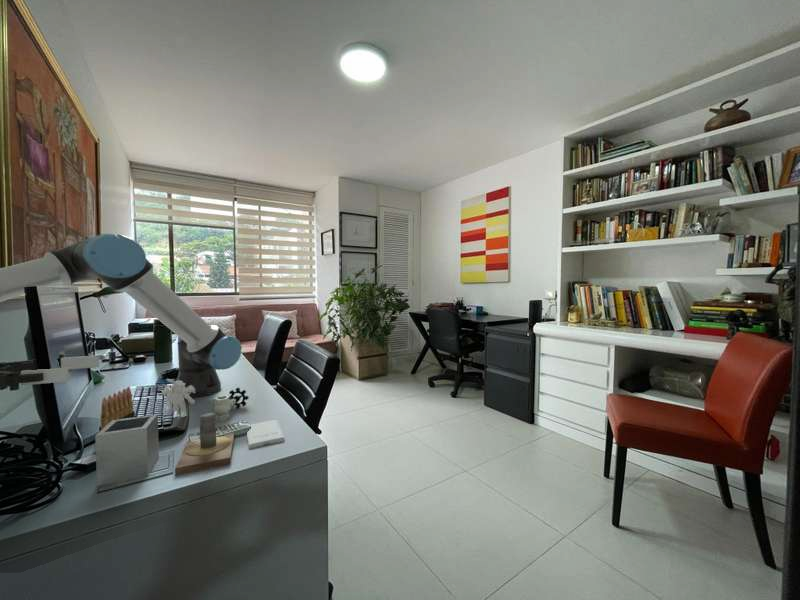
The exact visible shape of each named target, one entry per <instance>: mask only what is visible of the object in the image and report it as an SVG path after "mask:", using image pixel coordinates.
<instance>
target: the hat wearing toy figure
mask: <svg viewBox="0 0 800 600" xmlns="http://www.w3.org/2000/svg"><path fill="white" fill-rule="evenodd" d="M165 380H166V381H167V383H170V384H171V385H167V386H166V387H163V389H162V390H161V395H163V396H164V397H166V398H165V406H167V407H168V406H170V405H171V404H172V412H173V411H174V412H175V411H178V412H179V408H180V412H186V413H187V407H186V406H187V405H186V401H188V403H190V404H191V405H194V404H195V399H193V397H192V398H191V397H190V396H189V394H190V393H191V392H193V393H195V392H194V391H195V389H194V386H191V385H192V384H191V385H189V387H187V388H185V383H184V382H183V381H180V380H178V381H177V380H176V381H175V379H174V378H172V379H171V378H166V379H165ZM182 382H183V383H182ZM170 386H171V387H170ZM188 392H190V393H188ZM185 400H186V401H185Z"/></svg>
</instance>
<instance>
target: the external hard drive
mask: <svg viewBox="0 0 800 600" xmlns="http://www.w3.org/2000/svg"><path fill="white" fill-rule="evenodd" d="M249 425H251V429H250V430H249V431H248V432H247V434H246V441H247V440H248V441H247V447H248V449H249V448H250V449H254V448H258V447H257V446H259V447H262V446H261V445H264V446H266V445H265V444H267V445H269V444H268V443H273V444H275V443H274V442H277V443H279V442H278V441H282V440H284V441H285V436H284V433H283V430H282V428H281V426H280V423H279V421H278V420H277V419H272V420H267V421H262V422H256V423H251V424H249ZM282 442H283V441H282ZM253 447H254V448H253Z"/></svg>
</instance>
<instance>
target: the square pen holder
mask: <svg viewBox="0 0 800 600" xmlns="http://www.w3.org/2000/svg"><path fill="white" fill-rule="evenodd" d="M159 443H160V442H159V415H158V413H157V414H149V415H143V416H135V417H134V418H126V419H119V420H112V421H111V422H110V423H109V424H108V425H107V426H105V427H104V428H103V429H102V430H101V431H100V432H99V431H98V432H97V433H96V434H95V463H96V464H95V465H96V487H101V486H106V485H111V484H117V483H120V482H121V483H122V482H126V481H131V480H136V479H141V478H146V477H149V476H150V474H151V473H152V471H153V468H154V467H155V466H156V464H157V462H158V460H159V459H160V450H159V449H160V447H159V446H160V445H159Z"/></svg>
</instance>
